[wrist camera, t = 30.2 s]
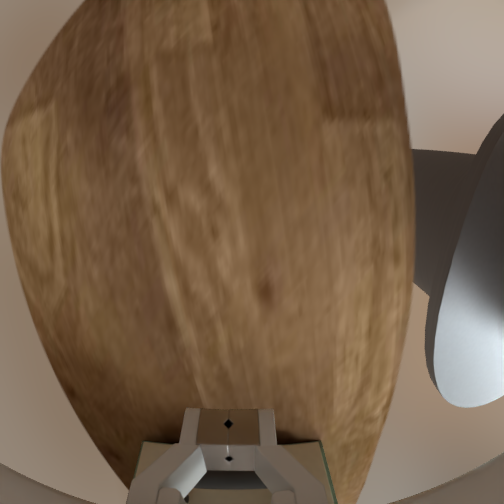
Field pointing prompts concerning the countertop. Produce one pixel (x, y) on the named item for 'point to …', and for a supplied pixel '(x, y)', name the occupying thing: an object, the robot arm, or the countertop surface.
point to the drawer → (240, 477)
